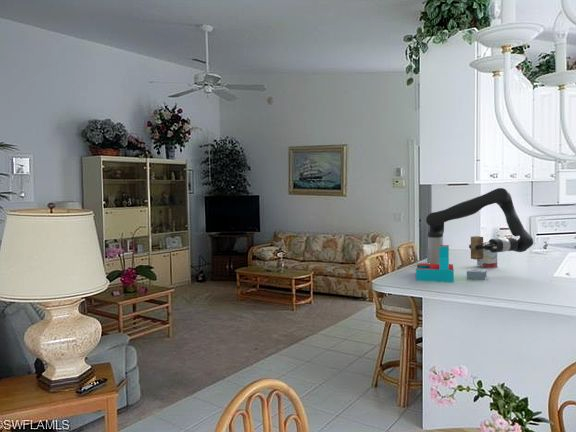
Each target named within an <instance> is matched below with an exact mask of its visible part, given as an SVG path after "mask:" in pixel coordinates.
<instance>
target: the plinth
mask: <svg viewBox="0 0 576 432" xmlns="http://www.w3.org/2000/svg"><path fill="white" fill-rule="evenodd" d="M487 272H488V270H487V269H482V268H468V269H467V270H466V279H469V280H480V279H482V281H483V280H484V281H485V280H486V279H485V278H487V275H488V274H487Z"/></svg>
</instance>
